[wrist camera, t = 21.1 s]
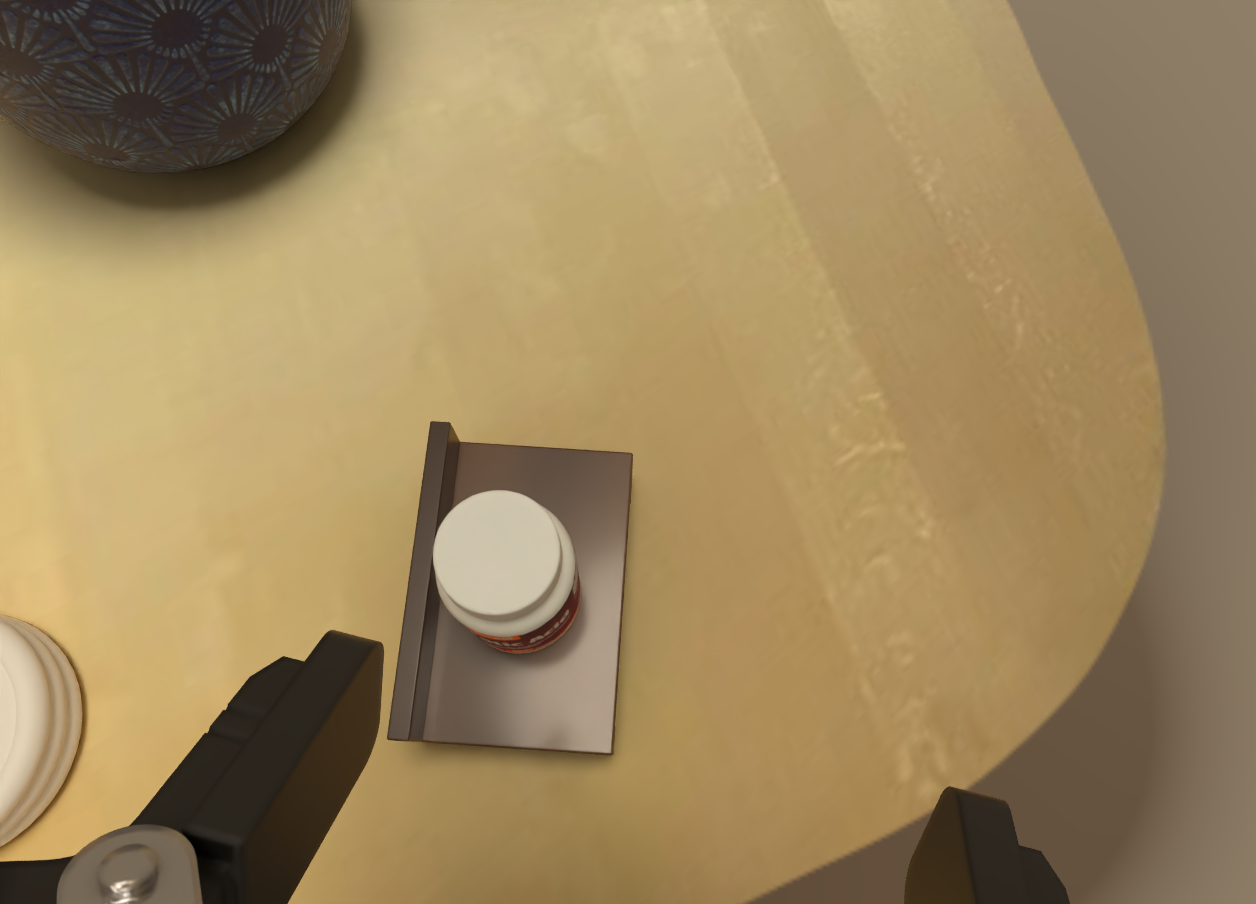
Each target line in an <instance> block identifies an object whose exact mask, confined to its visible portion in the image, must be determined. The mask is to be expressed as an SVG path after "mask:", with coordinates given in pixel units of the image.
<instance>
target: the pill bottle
mask: <svg viewBox="0 0 1256 904" xmlns="http://www.w3.org/2000/svg"><path fill="white" fill-rule="evenodd" d="M433 564H434V570H435V576H436V583H437V587H438V592H439V594H440V597H441V599H442V601H443V603H444V605H445V606H446V608H447V610H448V611H449V612H450V613H451V614H452V615H453V616H454V617H455V618H456V619H457V620H458V621H459V622H460V623H462V624H463V625H464V626H465V627H466V628H468V630H469V631H471V632H472V633H474V634H475V635H476V636H477V637H479V638H480V639H481V640H482V641H483V642H485V643H486V644H488V645H489V646H491V647H493V648H495V649H497V650H500V651H503V652H507V653H514V654H523V653H531V652H535V651H538V650H541V649H543V648H545V647H547V646H549V645H551V644H553V643H554V642H555V641H557V640H558V639H559V638H560V637H562V636H563V635H564V634H565V632H566V631H567V630H568V629H569V627H570V626H571V624H572V623H573V621H574V619H575V617H576V614H577V612H578V608H579V604H580V598H581V586H580V578H579V573H578V567H577V563H576V559H575V551H574V547H573V544H572V541H571V538H570V536H569V534H568V532H567V531H566V529H565V527H564V526H563V524H562V523H561V522H560V521H559V520H558V518H557V517H556V516H555V515H554V514H552V513H551V512H550V511H549V510H547V509H546V508H544V507H543V506H541V505H539V504H538V503H536V502H535V501H534V500H532V499H530V498H529V497H527V496H525V495H522V494H520V493H516V492H512V491H506V490H493V491H486V492H482V493H478V494H476V495H473V496H471V497H469V498H467V499H465V500H464V501H462V502H461V503H459V504H458V505H457V506H456V507H454V508H453V509H452V510H451V511H450V512H449V513H448V515H447V516H446V517H445V519H444V520H443V522H442V523H441V525H440V527H439V529H438V531H437V534H436V537H435V541H434V547H433Z"/></svg>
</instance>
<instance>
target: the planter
mask: <svg viewBox="0 0 1256 904" xmlns="http://www.w3.org/2000/svg"><path fill="white" fill-rule="evenodd" d="M351 9H352V0H0V117H1V118H2V119H4V120H5V121H7V122H9V123H10V124H12V125H13V126H15V127H16V128H18V129H19V130H21V131H23V132H24V133H26V134H27V135H29V136H31V137H33V138H35V139H37V140H39V141H41V142H43V143H45V144H47V145H49V146H51V147H53V148H55V149H57V150H59V151H62V152H64V153H67V154H69V155H71V156H74V157H77V158H80V159H82V160H85V161H88V162H91V163H95V164H99V165H103V166H107V167H111V168H115V169H119V170H126V171H133V172H145V173H167V172H183V171H191V170H198V169H203V168H207V167H212V166H216V165H219V164H222V163H226V162H229V161H232V160H234V159H237V158H239V157H242V156H244V155H247V154H249V153H251V152H253V151H255V150H257V149H259V148H261V147H262V146H264V145H266V144H267V143H269V142H270V141H272V140H274V139H275V138H277V137H278V136H279V135H281V134H282V133H283V132H285V131H286V130H287V129H289V128H290V127H291V126H292V125H293V124H294V123H295V122H297V121H298V120H299V119H300V118H301V117H302V116H303V115H304V114H305V113H306V112H307V110H308V109H309V108H310V107H311V106H312V105H313V104H314V102H315V101H316V100H317V98H318V97H319V96H320V94H321V93H322V92H323V90H324V89H325V87H326V86H327V84H328V82H329V81H330V79H331V77H332V75H333V74H334V72H335V69H336V67H337V65H338V63H339V60H340V57H341V54H342V51H343V48H344V44H345V41H346V38H347V34H348V28H349V23H350V16H351Z"/></svg>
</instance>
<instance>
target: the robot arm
mask: <svg viewBox="0 0 1256 904" xmlns="http://www.w3.org/2000/svg"><path fill="white" fill-rule="evenodd" d="M383 661H384V647H383V644H382V643H381V642H378V641H374V640H370V639H366V638H362V637H358V636H355V635H351V634H347V633H343V632H339V631H335V630H330V631H328V632H327V633H326V634H325V635H324V636H323V637H322V639H321V640H320V641H319V643H318V644H317V646H316V647H315V648H314V650H313V651H312V652H311V654H310V655H309V656H308V658H307V659H306V660H305V662H304V661H300V660H296V659H292V658H288V657H284V656H283V657H281V658H280V659H278V660H276V661H275V662H273V663H272V664H270V665H268V666H267V667H265V668H263V669H262V670H260V671H259V672H257V673H255V674H254V675H252V676H250V677H249V679H248V680H247V681H246V682H245V684H244V685H243V686H242V687H241V689H240V690H239V691H238V692H237V694H236V695H235V696H234V697H233V699H232V700H231V701H230V702H229V704H228V707H227V709H226V710H223V711H222V712H221V714H220V715H219V716H218V717H217V719H216V720H215V721H214V722H213V724H212V725H211V726H210V729H209V731H208V733H205V734H204V735H203V736H202V737H201V739H200V740H199V741H198V742H197V744H196V745H195V746H194V747H193V749H192V750H191V751H190V752H189V754H188V755H187V756H186V757H185V759H184V760H183V761H182V762H181V764H180V765H179V766H178V767H177V769H176V770H175V771H174V772H173V773H172V775H171V776H170V777H169V778H168V780H167V781H166V782H165V783H164V785H163V786H162V787H161V788H160V790H159V791H158V792H157V793H156V795H155V796H154V797H153V798H152V800H151V801H150V802H149V803H148V805H147V806H146V807H145V808H144V810H143V811H142V812H141V813H140V815H139V816H138V817H137V818H136V819H135V820H134V821H133V822H132V824H131V825H129V826H128V827H124V828H121V829H117V830H114V831H112V832H109V833H107V834H105V835H103V836H101V837H99V838H97V839H96V840H94V841H92V842H91V843H89V844H88V845H87V846H85V847H84V848H83V849H82V850H81V851H79V852H78V853H77V854H76V855H74V856H71V857H66V858H61V859H53V860H36V861H6V862H0V904H287V903H288V902H289V900H290V898H291V896H292V895H293V893H294V891H295V889H296V887H297V886H298V884H299V882H300V880H301V879H302V877H303V875H304V873H305V872H306V870H307V868H308V866H309V864H310V863H311V861H312V859H313V857H314V856H315V854H316V852H317V850H318V849H319V847H320V845H321V843H322V841H323V840H324V838H325V836H326V834H327V833H328V831H329V829H330V827H331V826H332V824H333V822H334V820H335V819H336V817H337V815H338V813H339V811H340V810H341V808H342V806H343V804H344V803H345V801H346V799H347V797H348V796H349V794H350V792H351V790H352V788H353V787H354V785H355V783H356V781H357V780H358V778H359V776H360V774H361V773H362V771H363V769H364V767H365V765H366V763H367V761H368V759H369V757H370V755H371V752H372V749H373V747H374V744H375V740H376V737H377V733H378V728H379V723H380V709H381V693H382V677H383ZM904 904H1070V903H1069V899H1068V895H1067V892H1066V888H1065V887H1064V886H1063V884H1062V882H1061V881H1060V879H1059V878H1058V877H1057V875H1056V873H1055V872H1054V870H1053V869H1052V868H1051V866H1050V864H1049V863H1048V861H1047V860H1046V858H1045V857H1044V855H1043V854H1042V852H1041V851H1038V850H1035V849H1031V848H1027V847H1023V846H1019V845H1018V840H1017V836H1016V832H1015V827H1014V823H1013V820H1012V815H1011V811H1010V808H1009V806H1008V804H1007V803H1006V802H1005V801H1004V800H1000V799H997V798H993V797H989V796H985V795H981V794H978V793H974V792H970V791H966V790H962V789H958V788H954V787H947V788H946V789H945V790H944V791H943V793H942V794H941V796H940V798H939V800H938V803H937V805H936V807H935V809H934V811H933V813H932V815H931V818H930V820H929V822H928V824H927V826H926V828H925V830H924V833H923V835H922V837H921V839H920V841H919V843H918V846H917V848H916V850H915V852H914V854H913V856H912V859H911V861H910V864H909V868H908V872H907V877H906V883H905V895H904Z"/></svg>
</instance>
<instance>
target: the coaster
mask: <svg viewBox="0 0 1256 904" xmlns="http://www.w3.org/2000/svg"><path fill="white" fill-rule="evenodd" d="M81 726H82V699H81V694H80V689H79V684H78V681H77V678H76V675H75V672H74V670H73V668H72V666H71V664H70V662H69V661H68V659H67V657H66V656H65V655H64V653H63V652H62V651H61V649H60V648H59V647H58V646H57V645H56V644H55V643H54V642H53V641H52V640H51V639H50V638H49V637H48V636H47V635H45V634H44V633H43V632H41V631H40V630H38V629H37V628H36V627H34V626H32V625H30V624H28V623H26V622H24V621H21V620H18V619H15V618H12V617H8V616H4V615H0V847H1V846H3V845H4V844H6V843H7V842H9V841H10V840H12V839H13V838H15V837H16V836H17V835H18V834H20V833H21V832H22V831H23V830H25V829H26V828H27V827H28V826H29V825H30V824H31V823H32V822H33V821H34V820H35V819H36V818H37V817H38V816H39V815H40V814H42V812H43V811H44V810H45V809H46V807H47V806H48V805H49V804H50V802H51V801H52V800H53V799H54V797H55V795H56V794H57V792H58V791H59V789H60V788H61V786H62V784H63V783H64V781H65V779H66V776H67V774H68V772H69V770H70V768H71V766H72V763H73V760H74V757H75V754H76V752H77V748H78V744H79V739H80V735H81Z"/></svg>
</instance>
